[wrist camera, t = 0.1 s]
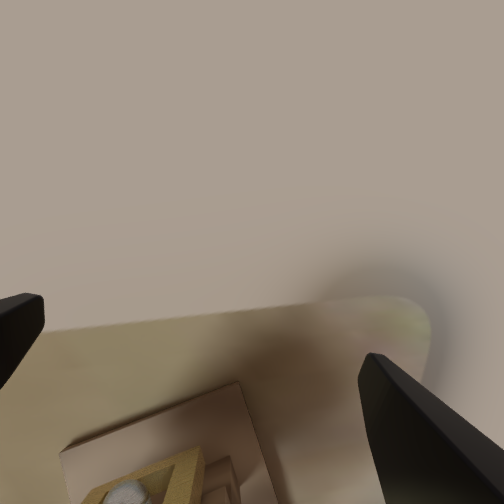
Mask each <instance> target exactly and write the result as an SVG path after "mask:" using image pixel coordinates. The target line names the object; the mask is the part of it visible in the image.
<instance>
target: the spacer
mask: <svg viewBox="0 0 504 504" xmlns="http://www.w3.org/2000/svg"><path fill="white" fill-rule="evenodd" d="M204 471H205V460H204V456H203V453H202V450H201V447H200V445H198V446H196V447H193V448H191V449H188V450H186V451H184V452H181V453H179V454H176V455H174V456H171V457H169V458H166V459H164V460H162V461H159V462H157V463H154V464H152V465H149V466H147V467H144V468H142V469H140V470H137V471H135V472H132V473H130V474H127V475H125V476H123V477H120V478H118V479H115V480H113V481H110V482H108V483H105V484H103V485H101V486H98V487H96V488H93V489H91V491H90V492H89V493H88V495H87V496H86V497H85V499H84V500H83V501H82V503H81V504H103V502H104V499H105V497H106V496H107V494H108V492H109V491H110V490H111V489H112V488H113V487H114V486H115V485H116V484H118V483H120V482H122V481H124V480H129V479H134V480H138V481H140V482H142V483H143V484H144V485H145V486H146V488H147V489H148V491H149V494H150V496H153V495H155V494H157V493H160V492H162V491H165V490H167V492H166V495H165V498H164V501H163V504H200V502H201V495H202V487H203V479H204Z"/></svg>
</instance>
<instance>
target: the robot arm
mask: <svg viewBox="0 0 504 504" xmlns="http://www.w3.org/2000/svg"><path fill="white" fill-rule="evenodd" d="M44 323H45V315H44V299H43V297H42V296H40V295H36V294H31V293H22V294H19V295H16V296H12V297H8V298H4V299H1V300H0V389H1V388H2V387H3V386H4V384H5V383H6V382H7V381H8V379H9V378H10V377H11V375H12V374H13V372H14V371H15V370H16V368H17V367H18V365H19V364H20V362H21V361H22V359H23V358H24V356H25V355H26V353H27V352H28V350H29V349H30V347H31V346H32V345H33V343H34V342H35V340H36V339H37V337H38V336H39V334H40V333H41V331H42V329H43V327H44ZM358 387H359V393H360V399H361V404H362V410H363V416H364V422H365V428H366V433H367V437H368V441H369V445H370V449H371V452H372V456H373V459H374V463H375V467H376V470H377V474H378V477H379V481H380V484H381V488H382V492H383V495H384V499H385V502H386V504H504V450H503V449H502V448H500V447H499V446H498V445H497V444H495V443H494V442H493V441H492V440H490V439H489V438H488V437H486V436H485V435H484V434H483V433H482V432H480V431H479V430H478V429H477V428H475V427H474V426H473V425H471V424H470V423H469V422H468V421H466V420H465V419H464V418H463V417H461V416H460V415H459V414H457V413H456V412H455V411H454V410H452V409H451V408H450V407H449V406H447V405H446V404H445V403H444V402H442V401H441V400H440V399H439V398H437V397H436V396H435V395H434V394H432V393H431V392H429V390H427V389H426V388H425V387H424V386H422V385H421V384H420V383H418V382H417V381H416V380H415V379H413V378H412V377H411V376H410V375H408V374H407V373H406V372H405V371H403V370H402V369H401V368H400V367H398V366H397V365H396V364H394V363H393V362H392V361H391V360H389V359H388V358H387V357H386V356H384V355H382V354H376V353H368V354H367V356H366V358H365V360H364V363H363V365H362V368H361V370H360V373H359V375H358Z"/></svg>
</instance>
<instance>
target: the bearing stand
mask: <svg viewBox="0 0 504 504" xmlns="http://www.w3.org/2000/svg"><path fill="white" fill-rule="evenodd" d="M198 445H200V447H201V450H202V453H203V456H204V460H205V471H204V479H203V487H202V495H201V502H200V504H279V503H278V500H277V497H276V494H275V491H274V488H273V485H272V482H271V479H270V476H269V473H268V470H267V467H266V464H265V460H264V457H263V454H262V451H261V448H260V445H259V442H258V439H257V436H256V433H255V430H254V427H253V424H252V421H251V418H250V415H249V412H248V409H247V406H246V403H245V400H244V397H243V394H242V390H241V387H240V384H239V381H237V382H235V383H232V384H229V385H227V386H224V387H222V388H219V389H217V390H214V391H211V392H209V393H206V394H204V395H201V396H198V397H196V398H193V399H191V400H188V401H186V402H183V403H180V404H178V405H175V406H173V407H170V408H168V409H165V410H162V411H160V412H157V413H155V414H152V415H150V416H147V417H144V418H142V419H139V420H137V421H134V422H132V423H129V424H126V425H124V426H121V427H119V428H116V429H113V430H111V431H108V432H106V433H103V434H101V435H98V436H95V437H93V438H90V439H88V440H85V441H83V442H80V443H77V444H75V445H72V446H70V447H67V448H65V449H64V450H62V451H61V452H60V453H59V457H60V461H61V465H62V469H63V474H64V478H65V482H66V486H67V490H68V494H69V499H70V503H71V504H81V503H82V501H83V500H84V499H85V497H86V496H87V495H88V493H89V492H90V491H91V489H93V488H96V487H98V486H101V485H103V484H105V483H108V482H110V481H113V480H115V479H118V478H120V477H123V476H125V475H127V474H130V473H132V472H135V471H137V470H140V469H142V468H144V467H147V466H149V465H152V464H154V463H157V462H159V461H162V460H164V459H166V458H169V457H171V456H174V455H176V454H179V453H181V452H184V451H186V450H188V449H191V448H193V447H196V446H198ZM166 492H167V490H165V491H162V492H160V493H157V494H155V495H153V496H150V498H151V501H152V504H163V501H164V498H165V495H166Z"/></svg>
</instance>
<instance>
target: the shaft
mask: <svg viewBox="0 0 504 504" xmlns="http://www.w3.org/2000/svg"><path fill="white" fill-rule="evenodd" d="M103 504H152V501H151V498H150V494H149V491H148V489H147V488H146V486H145V485H144V484H143V483H142V482H140V481H138V480H134V479H129V480H124V481H122V482H120V483H118V484H116V485H115V486H114V487H113V488H112V489H111V490H110V491H109V492H108V494H107V496H106V497H105V499H104V502H103Z"/></svg>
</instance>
